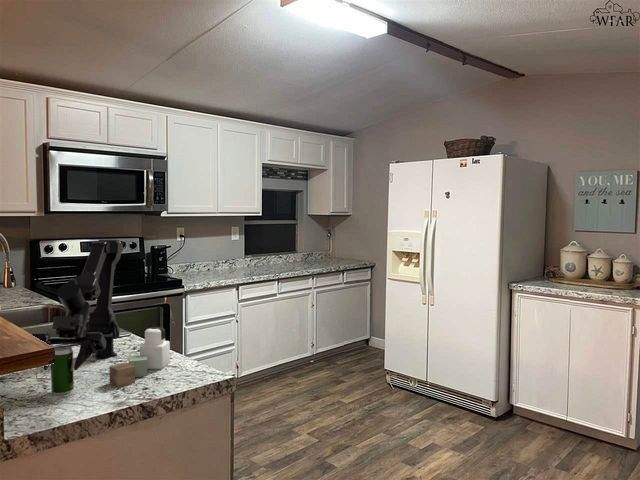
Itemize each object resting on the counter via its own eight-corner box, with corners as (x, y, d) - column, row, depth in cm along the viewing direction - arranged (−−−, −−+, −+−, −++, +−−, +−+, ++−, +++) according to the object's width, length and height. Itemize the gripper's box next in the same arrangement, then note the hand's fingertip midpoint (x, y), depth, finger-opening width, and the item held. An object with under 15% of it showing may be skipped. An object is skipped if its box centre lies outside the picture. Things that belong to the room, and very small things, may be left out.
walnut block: (109, 383, 142) (109, 366, 142) (126, 379, 146) (126, 362, 146) (117, 387, 139) (117, 370, 139) (134, 383, 143) (134, 366, 142)
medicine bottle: (148, 361, 162) (147, 325, 161) (170, 362, 162) (169, 325, 161) (139, 368, 155) (139, 330, 154) (162, 369, 155) (162, 331, 154)
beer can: (52, 397, 131) (51, 352, 130) (50, 390, 136) (49, 347, 135) (75, 393, 134) (74, 349, 133) (72, 387, 139) (71, 344, 138)
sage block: (128, 372, 151) (128, 356, 151) (146, 370, 153) (146, 354, 153) (129, 378, 147) (129, 361, 146) (147, 376, 149) (147, 359, 148)
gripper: (31, 303, 136) (11, 355, 126) (102, 303, 138) (87, 354, 128) (45, 325, 145) (27, 375, 135) (112, 325, 146) (99, 374, 136)
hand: (59, 369), depth 133 cm, fingers open, 7 cm apart
